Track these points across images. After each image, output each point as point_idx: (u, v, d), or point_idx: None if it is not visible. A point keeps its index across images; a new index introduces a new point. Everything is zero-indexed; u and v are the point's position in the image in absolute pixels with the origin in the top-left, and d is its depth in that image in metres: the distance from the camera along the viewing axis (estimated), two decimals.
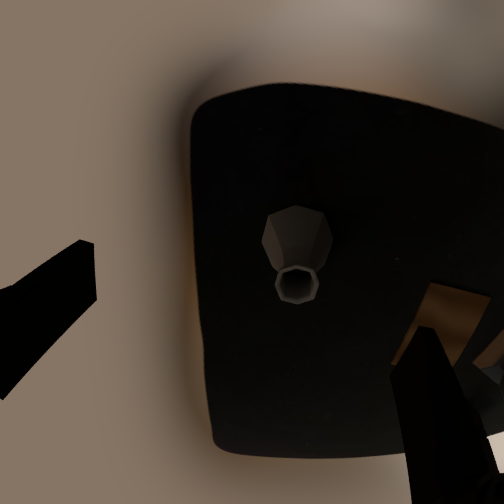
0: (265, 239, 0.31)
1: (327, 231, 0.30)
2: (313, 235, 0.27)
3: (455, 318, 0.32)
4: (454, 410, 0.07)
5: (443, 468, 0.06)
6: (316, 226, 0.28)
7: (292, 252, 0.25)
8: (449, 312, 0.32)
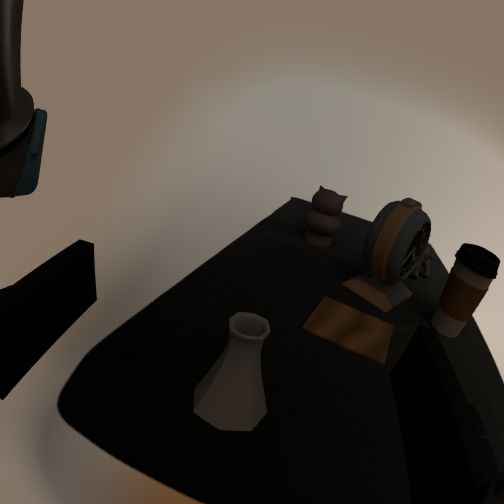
0: (215, 416, 0.24)
1: None
2: None
3: (340, 317, 0.44)
4: (454, 410, 0.07)
5: (443, 468, 0.06)
6: None
7: (225, 350, 0.25)
8: (332, 320, 0.43)
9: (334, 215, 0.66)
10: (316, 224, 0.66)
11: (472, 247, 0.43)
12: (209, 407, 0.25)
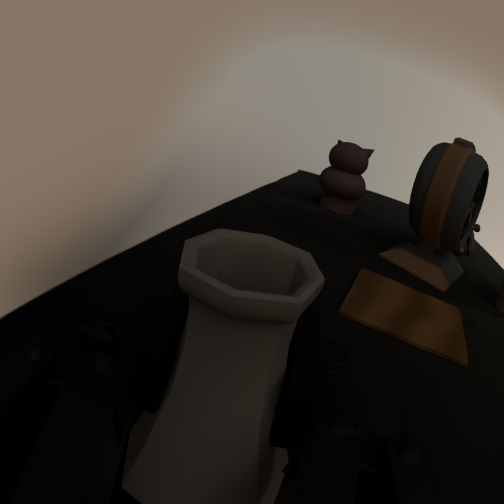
0: None
1: None
2: None
3: (390, 297, 0.27)
4: (299, 335, 0.09)
5: (283, 391, 0.08)
6: None
7: (178, 349, 0.08)
8: (382, 301, 0.26)
9: (358, 173, 0.49)
10: (336, 184, 0.49)
11: None
12: (151, 487, 0.08)
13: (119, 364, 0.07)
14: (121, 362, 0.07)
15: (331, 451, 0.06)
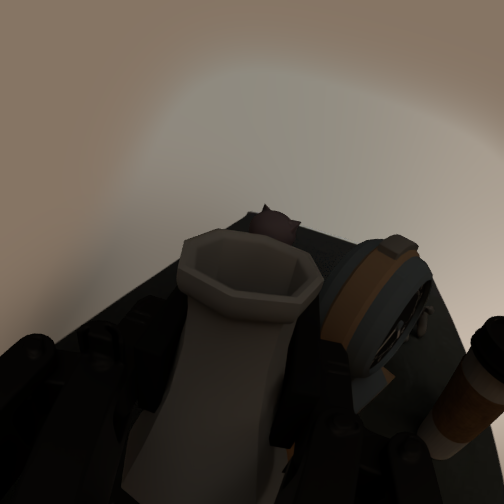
0: None
1: None
2: None
3: None
4: (299, 335, 0.09)
5: (283, 391, 0.08)
6: None
7: (178, 350, 0.08)
8: None
9: None
10: None
11: (500, 323, 0.22)
12: (150, 488, 0.08)
13: (119, 364, 0.07)
14: (121, 362, 0.07)
15: (331, 451, 0.06)
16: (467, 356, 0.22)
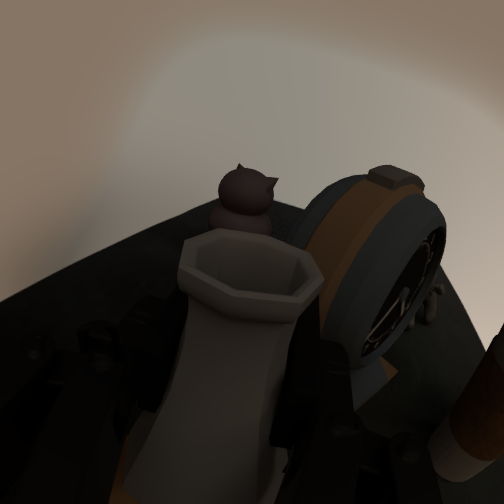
0: None
1: None
2: None
3: None
4: (299, 335, 0.09)
5: (283, 391, 0.08)
6: None
7: (178, 349, 0.08)
8: None
9: (255, 214, 0.37)
10: None
11: None
12: (151, 487, 0.08)
13: (119, 364, 0.07)
14: (121, 362, 0.07)
15: (331, 451, 0.06)
16: (501, 336, 0.14)
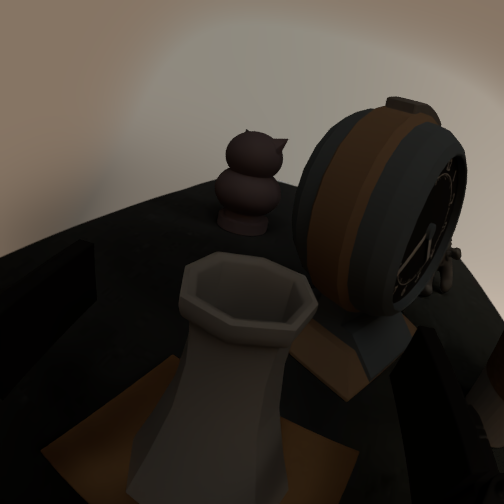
0: None
1: None
2: None
3: None
4: (454, 410, 0.07)
5: (443, 468, 0.06)
6: None
7: (180, 366, 0.08)
8: None
9: (264, 176, 0.35)
10: (229, 194, 0.35)
11: None
12: (154, 493, 0.08)
13: None
14: None
15: None
16: None
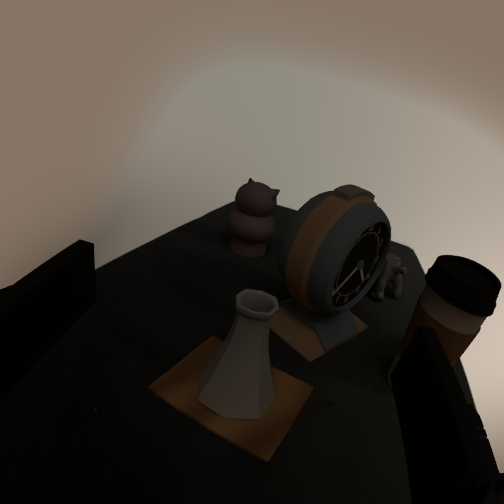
0: (221, 403, 0.23)
1: None
2: None
3: None
4: (454, 410, 0.07)
5: (443, 468, 0.06)
6: None
7: (231, 330, 0.24)
8: None
9: (263, 216, 0.50)
10: (238, 229, 0.50)
11: (456, 261, 0.28)
12: (214, 393, 0.24)
13: None
14: None
15: None
16: (424, 289, 0.28)
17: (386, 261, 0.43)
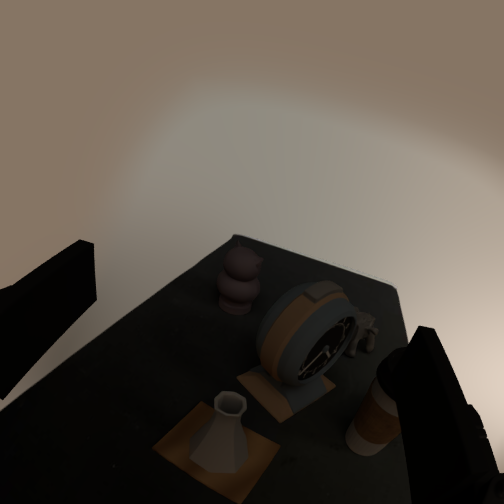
0: (206, 463, 0.28)
1: None
2: None
3: None
4: (454, 410, 0.07)
5: (443, 468, 0.06)
6: None
7: (212, 417, 0.29)
8: None
9: (248, 280, 0.56)
10: (225, 292, 0.56)
11: None
12: (201, 456, 0.29)
13: None
14: None
15: None
16: (376, 377, 0.33)
17: (357, 327, 0.49)
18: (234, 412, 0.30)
